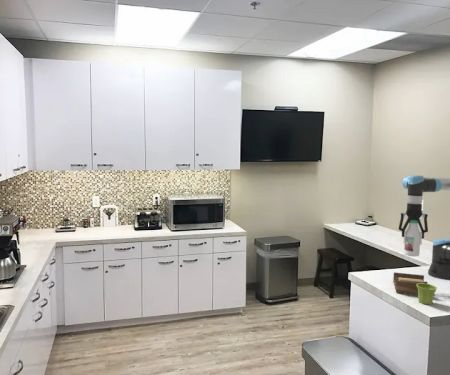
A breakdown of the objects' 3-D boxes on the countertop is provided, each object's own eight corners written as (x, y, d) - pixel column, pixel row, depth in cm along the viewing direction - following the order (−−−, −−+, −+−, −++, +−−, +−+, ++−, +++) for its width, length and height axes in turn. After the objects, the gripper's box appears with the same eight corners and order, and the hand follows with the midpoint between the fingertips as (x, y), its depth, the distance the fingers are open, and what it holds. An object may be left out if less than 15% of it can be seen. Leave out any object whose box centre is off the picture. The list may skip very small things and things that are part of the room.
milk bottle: (414, 253, 232) (416, 218, 230) (421, 256, 225) (424, 221, 223) (401, 253, 232) (403, 218, 230) (408, 256, 224) (410, 221, 222)
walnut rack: (393, 282, 239) (393, 270, 238) (423, 285, 234) (423, 273, 233) (396, 293, 220) (396, 281, 219) (428, 297, 215) (429, 284, 214)
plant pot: (419, 297, 214) (420, 281, 213) (438, 303, 207) (439, 286, 206) (412, 302, 208) (413, 285, 207) (431, 307, 201) (432, 290, 200)
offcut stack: (397, 290, 225) (398, 277, 224) (423, 293, 221) (424, 280, 220) (398, 293, 221) (399, 279, 220) (424, 295, 217) (425, 282, 217)
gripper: (395, 202, 225) (393, 243, 227) (436, 204, 219) (433, 246, 221) (394, 201, 232) (392, 240, 234) (433, 203, 226) (431, 243, 228)
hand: (412, 243), depth 228 cm, fingers closed on milk bottle, 7 cm apart
